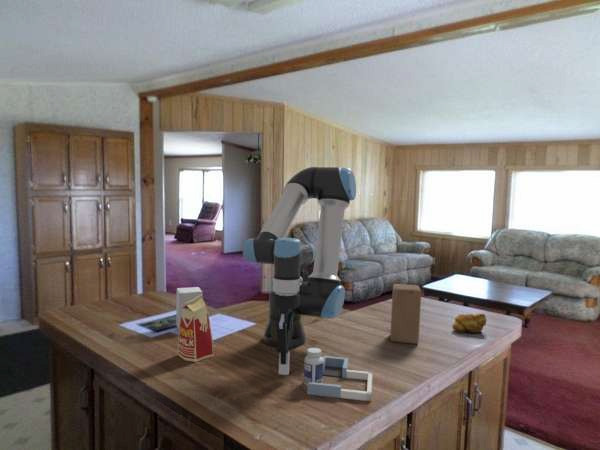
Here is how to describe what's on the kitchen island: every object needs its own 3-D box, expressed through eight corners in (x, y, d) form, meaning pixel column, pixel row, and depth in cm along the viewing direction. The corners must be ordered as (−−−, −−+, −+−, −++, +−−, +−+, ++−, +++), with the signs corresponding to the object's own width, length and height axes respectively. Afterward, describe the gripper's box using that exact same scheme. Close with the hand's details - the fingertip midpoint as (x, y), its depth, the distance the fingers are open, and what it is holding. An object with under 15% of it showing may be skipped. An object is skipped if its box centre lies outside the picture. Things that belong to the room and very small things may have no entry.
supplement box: (202, 330, 173) (203, 291, 172) (178, 332, 170) (179, 293, 169) (198, 323, 182) (199, 286, 180) (176, 325, 178) (176, 287, 177)
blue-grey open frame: (307, 394, 122) (307, 383, 122) (318, 364, 142) (318, 355, 142) (342, 398, 120) (342, 387, 120) (348, 367, 141) (348, 358, 141)
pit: (322, 375, 134) (322, 374, 134) (325, 366, 141) (325, 365, 141) (342, 377, 133) (342, 376, 133) (344, 368, 140) (344, 367, 140)
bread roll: (456, 335, 176) (458, 315, 175) (446, 327, 186) (447, 308, 185) (488, 334, 178) (489, 314, 177) (476, 327, 187) (477, 308, 186)
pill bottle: (321, 379, 132) (322, 346, 131) (323, 387, 126) (324, 353, 125) (303, 379, 131) (304, 346, 131) (304, 387, 126) (305, 353, 125)
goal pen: (340, 397, 120) (340, 390, 120) (344, 376, 134) (345, 369, 134) (370, 401, 119) (371, 393, 119) (372, 378, 133) (372, 372, 133)
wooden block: (418, 345, 163) (421, 290, 162) (390, 342, 165) (392, 288, 164) (417, 336, 173) (419, 284, 171) (390, 333, 175) (392, 283, 173)
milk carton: (197, 348, 153) (197, 290, 151) (215, 355, 147) (215, 295, 146) (174, 356, 146) (174, 295, 144) (192, 363, 140) (192, 300, 139)
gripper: (294, 298, 121) (292, 384, 123) (303, 288, 134) (300, 366, 136) (267, 296, 122) (265, 381, 124) (278, 287, 135) (276, 363, 137)
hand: (283, 373), depth 130 cm, fingers closed
